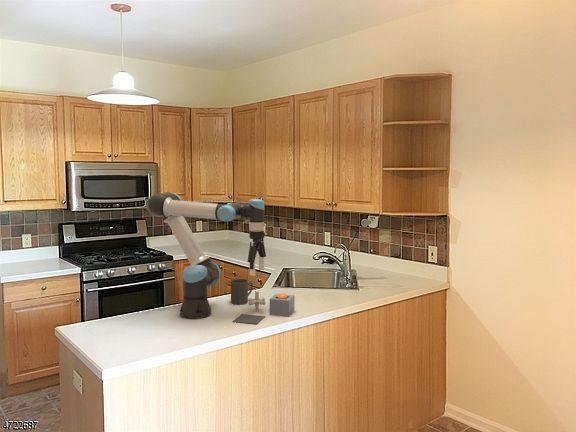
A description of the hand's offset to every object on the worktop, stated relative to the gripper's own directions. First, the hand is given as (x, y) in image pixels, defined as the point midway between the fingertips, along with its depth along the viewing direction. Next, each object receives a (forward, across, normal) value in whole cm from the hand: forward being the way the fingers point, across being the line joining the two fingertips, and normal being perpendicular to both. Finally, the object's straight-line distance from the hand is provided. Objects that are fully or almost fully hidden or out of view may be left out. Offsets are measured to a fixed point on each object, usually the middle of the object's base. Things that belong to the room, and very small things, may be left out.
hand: (257, 272), depth 246 cm
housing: (+20, +1, -13) cm, 24 cm away
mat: (+20, -14, -1) cm, 24 cm away
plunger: (+13, +1, -13) cm, 18 cm away
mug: (+20, +14, +13) cm, 28 cm away
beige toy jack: (+20, 0, 0) cm, 20 cm away
